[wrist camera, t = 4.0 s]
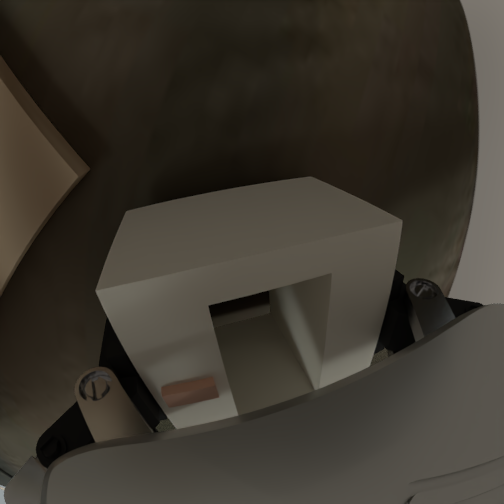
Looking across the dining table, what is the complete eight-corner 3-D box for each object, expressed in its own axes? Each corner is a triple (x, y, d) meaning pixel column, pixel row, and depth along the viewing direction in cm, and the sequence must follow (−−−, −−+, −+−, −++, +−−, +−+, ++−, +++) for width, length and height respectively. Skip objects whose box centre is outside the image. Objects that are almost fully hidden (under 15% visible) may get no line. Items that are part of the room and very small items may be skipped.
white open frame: (310, 314, 14) (365, 392, 9) (173, 351, 12) (189, 450, 8) (311, 176, 10) (411, 225, 6) (126, 211, 9) (92, 299, 4)
